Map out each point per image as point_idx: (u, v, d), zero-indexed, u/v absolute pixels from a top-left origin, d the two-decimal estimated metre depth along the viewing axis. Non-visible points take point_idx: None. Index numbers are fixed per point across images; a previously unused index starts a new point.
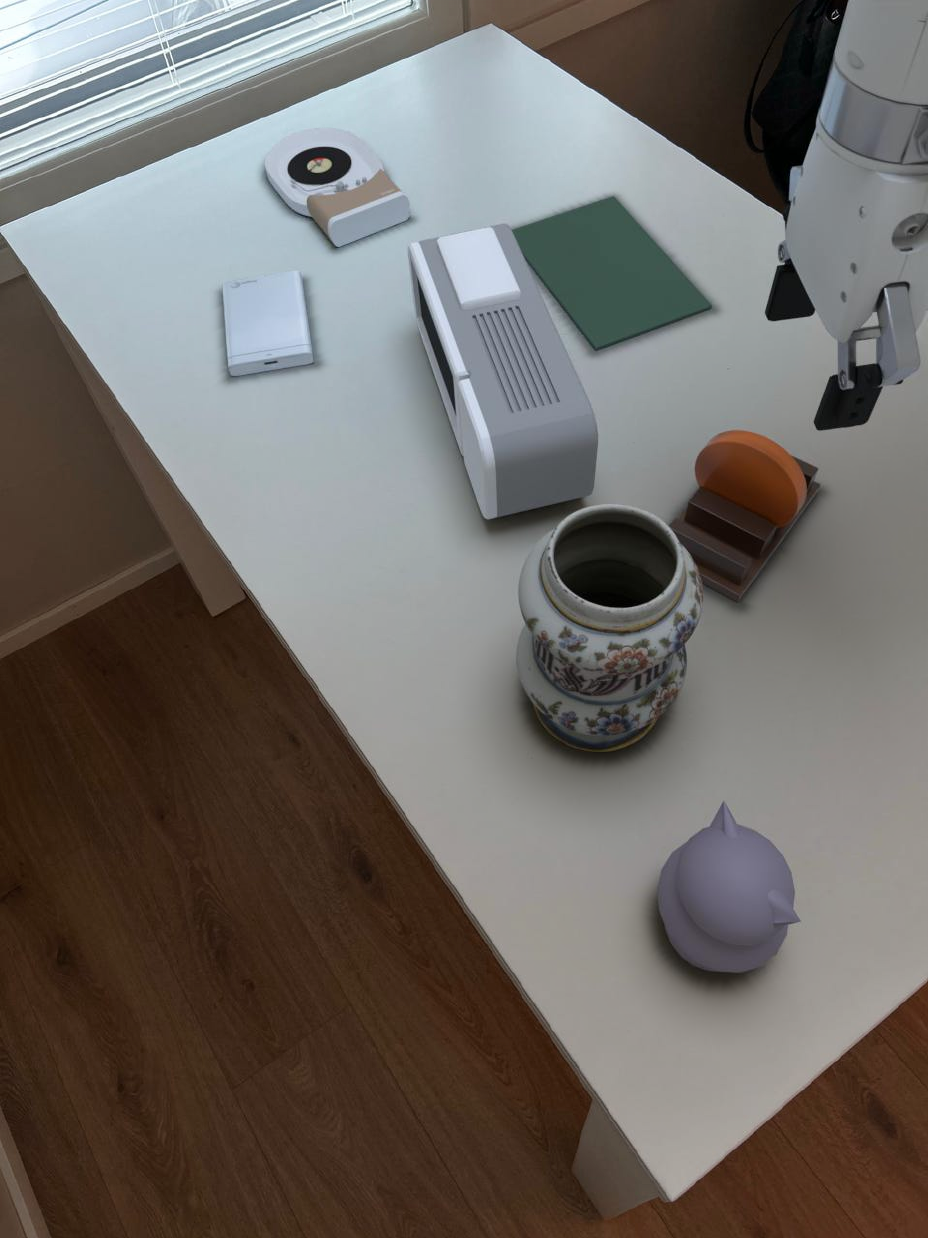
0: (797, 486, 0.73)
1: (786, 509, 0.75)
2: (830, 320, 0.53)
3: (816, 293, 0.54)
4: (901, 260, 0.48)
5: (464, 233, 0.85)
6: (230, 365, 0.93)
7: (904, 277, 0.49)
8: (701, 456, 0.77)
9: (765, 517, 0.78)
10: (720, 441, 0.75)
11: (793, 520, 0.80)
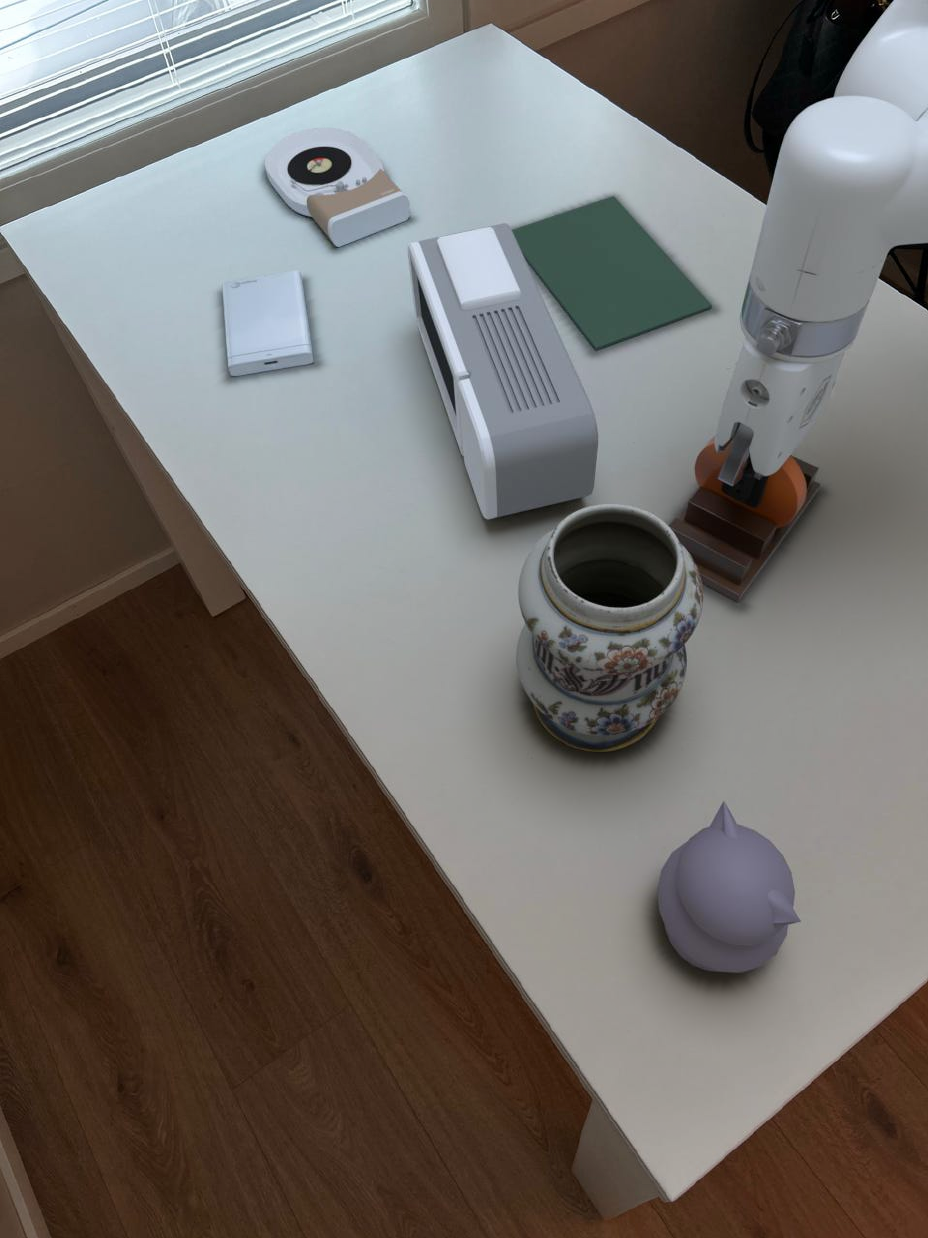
0: (797, 486, 0.73)
1: (786, 509, 0.75)
2: None
3: None
4: (746, 409, 0.65)
5: (464, 233, 0.85)
6: (230, 365, 0.93)
7: (749, 423, 0.65)
8: (701, 456, 0.77)
9: (765, 517, 0.78)
10: None
11: (793, 520, 0.80)
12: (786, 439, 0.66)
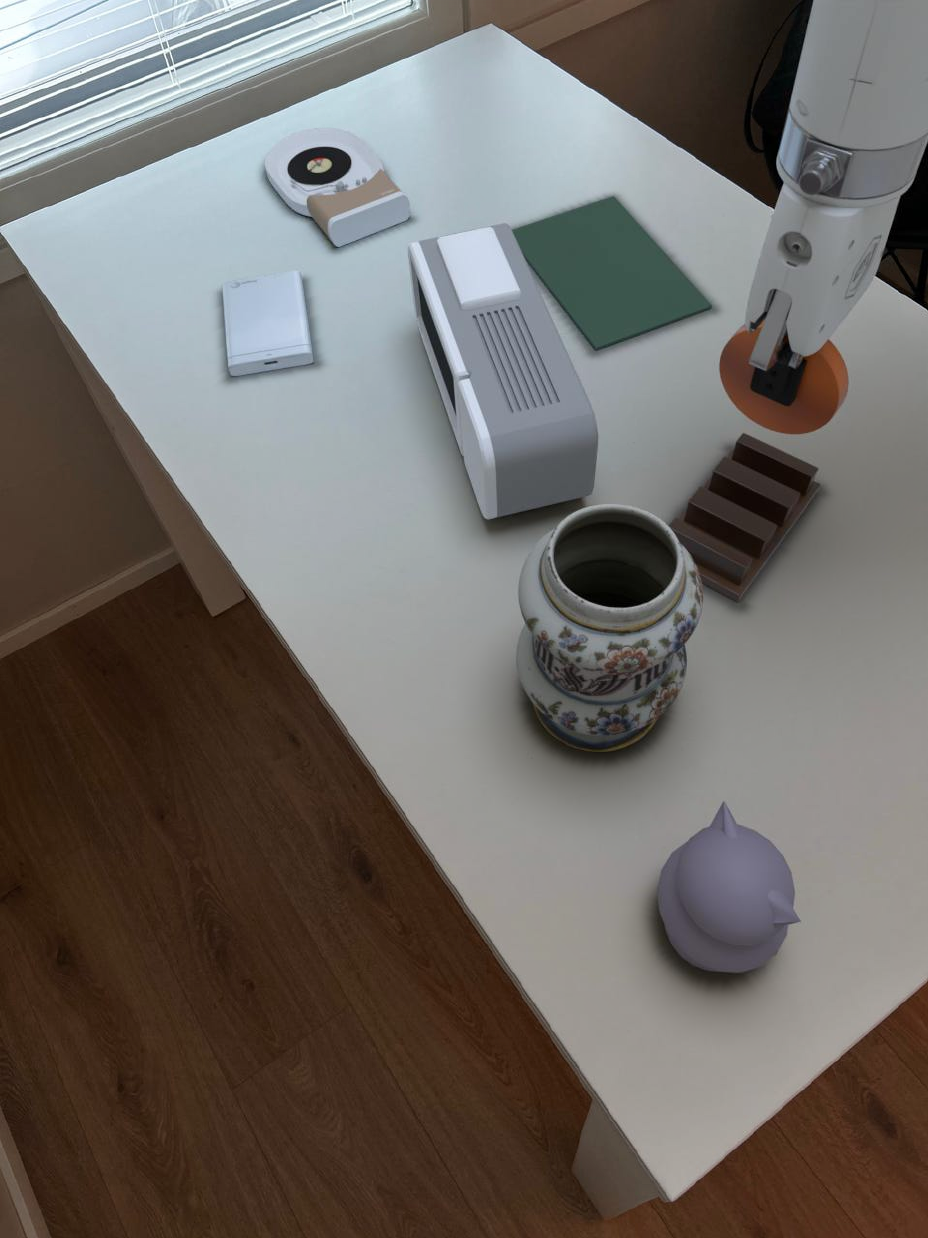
0: (838, 376, 0.64)
1: (825, 406, 0.66)
2: None
3: None
4: (784, 271, 0.56)
5: (464, 233, 0.85)
6: (230, 365, 0.93)
7: (786, 289, 0.56)
8: (727, 349, 0.68)
9: (800, 418, 0.69)
10: None
11: (793, 520, 0.80)
12: (830, 308, 0.57)
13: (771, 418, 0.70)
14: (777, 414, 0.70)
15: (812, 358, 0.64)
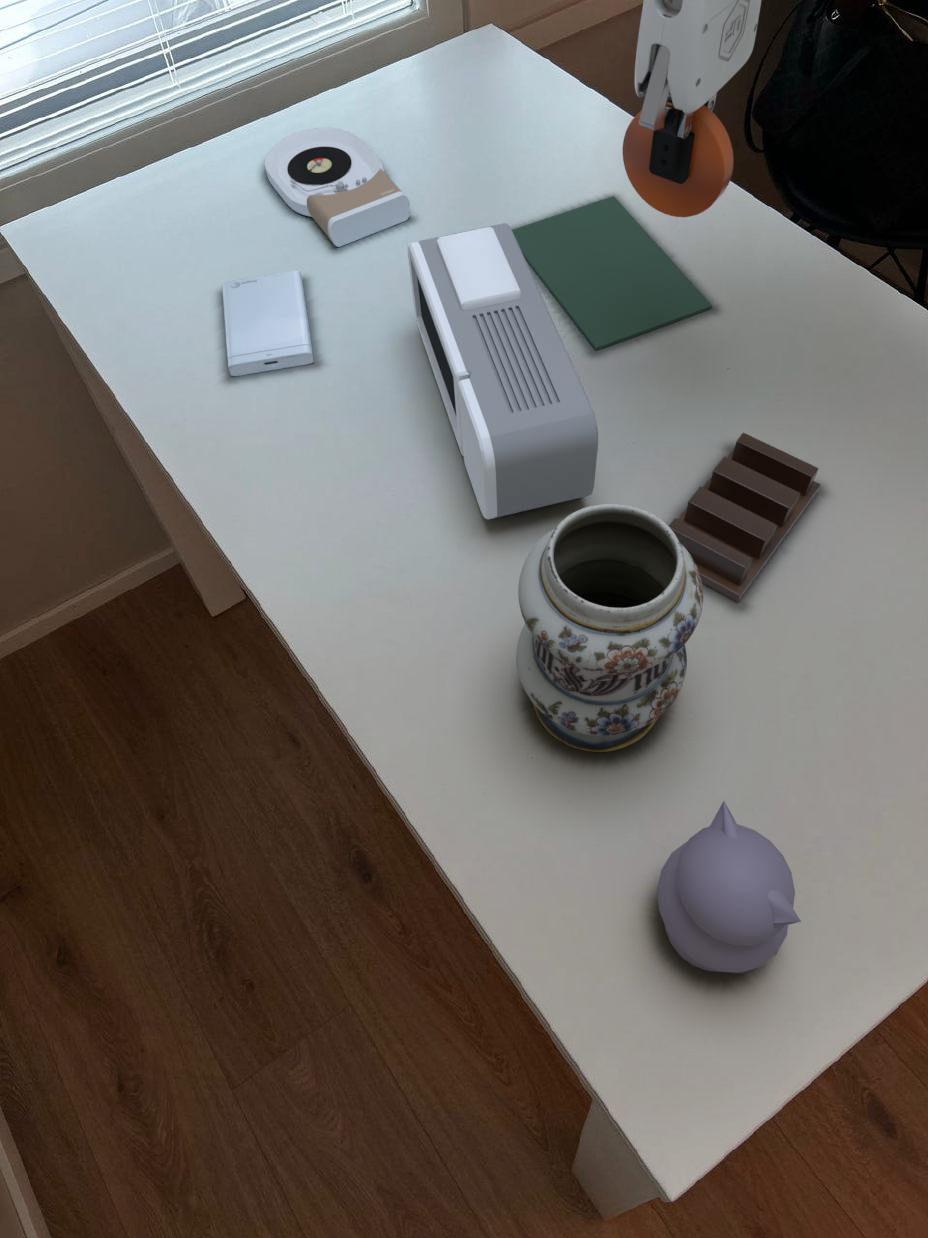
0: (723, 147, 0.72)
1: (714, 179, 0.74)
2: None
3: None
4: (661, 23, 0.63)
5: (464, 233, 0.85)
6: (230, 365, 0.93)
7: (665, 42, 0.64)
8: (628, 134, 0.76)
9: (694, 198, 0.76)
10: None
11: (793, 520, 0.80)
12: (703, 61, 0.65)
13: (670, 202, 0.78)
14: (675, 197, 0.77)
15: (699, 130, 0.72)
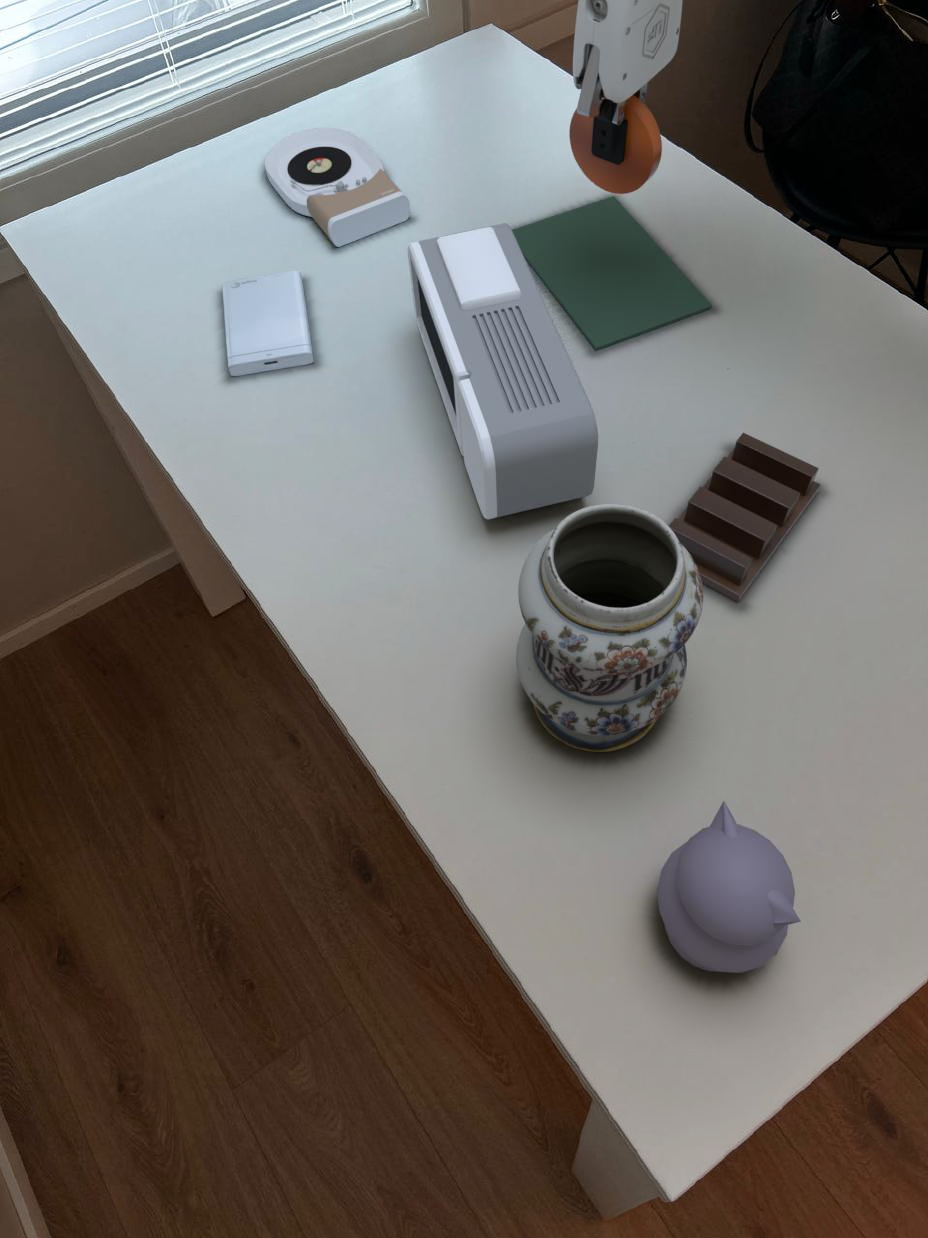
0: (651, 132, 0.84)
1: (645, 160, 0.86)
2: None
3: None
4: (591, 26, 0.76)
5: (464, 233, 0.85)
6: (230, 365, 0.93)
7: (595, 42, 0.76)
8: (573, 121, 0.88)
9: (629, 177, 0.88)
10: None
11: (793, 520, 0.80)
12: (628, 58, 0.77)
13: (610, 181, 0.90)
14: (614, 176, 0.90)
15: (631, 118, 0.84)
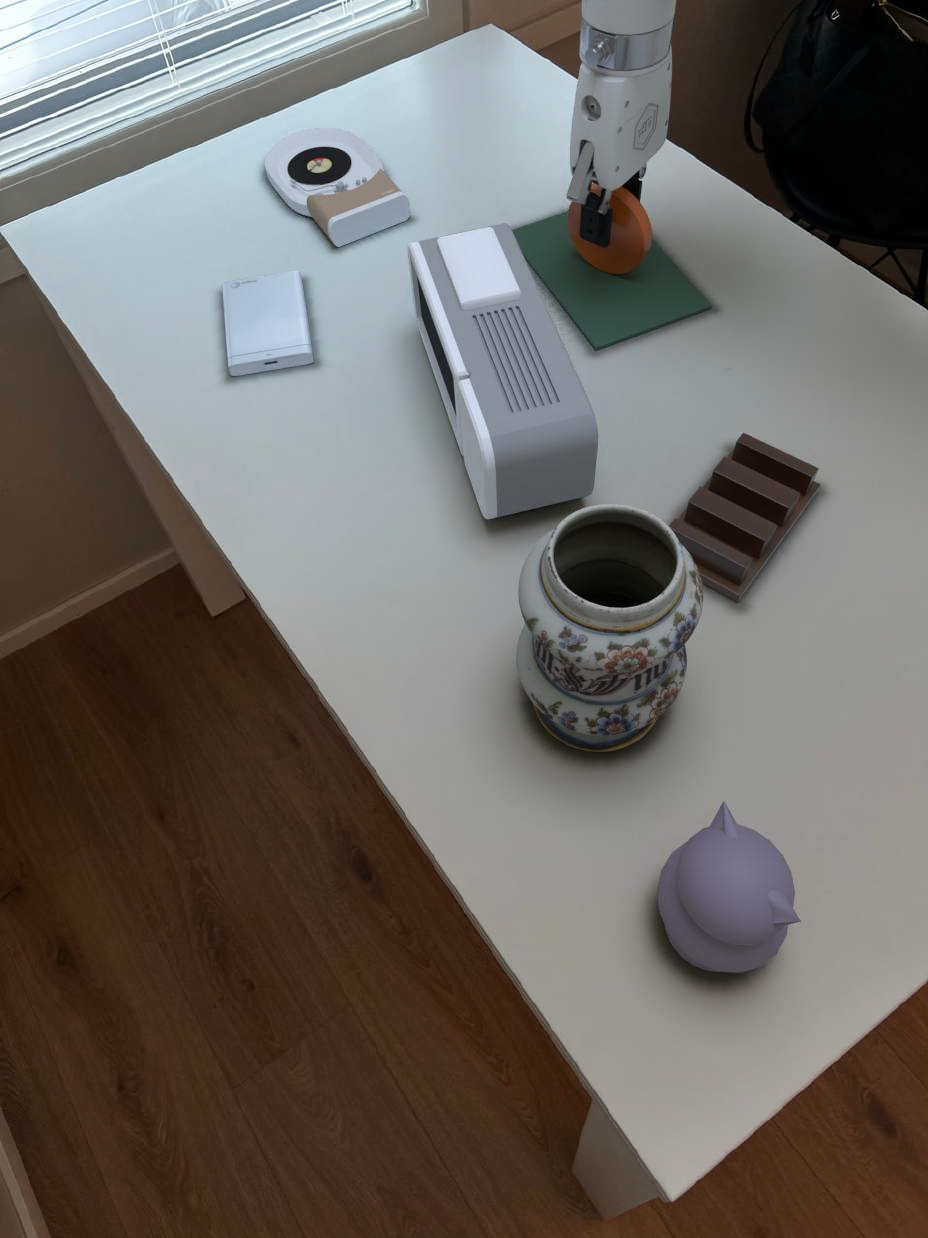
0: (642, 223, 0.92)
1: (637, 247, 0.94)
2: None
3: None
4: (586, 125, 0.82)
5: (464, 233, 0.85)
6: (230, 365, 0.93)
7: (590, 138, 0.83)
8: (570, 209, 0.96)
9: (623, 260, 0.96)
10: None
11: (793, 520, 0.80)
12: (620, 153, 0.84)
13: (605, 262, 0.98)
14: (608, 258, 0.97)
15: (623, 210, 0.92)
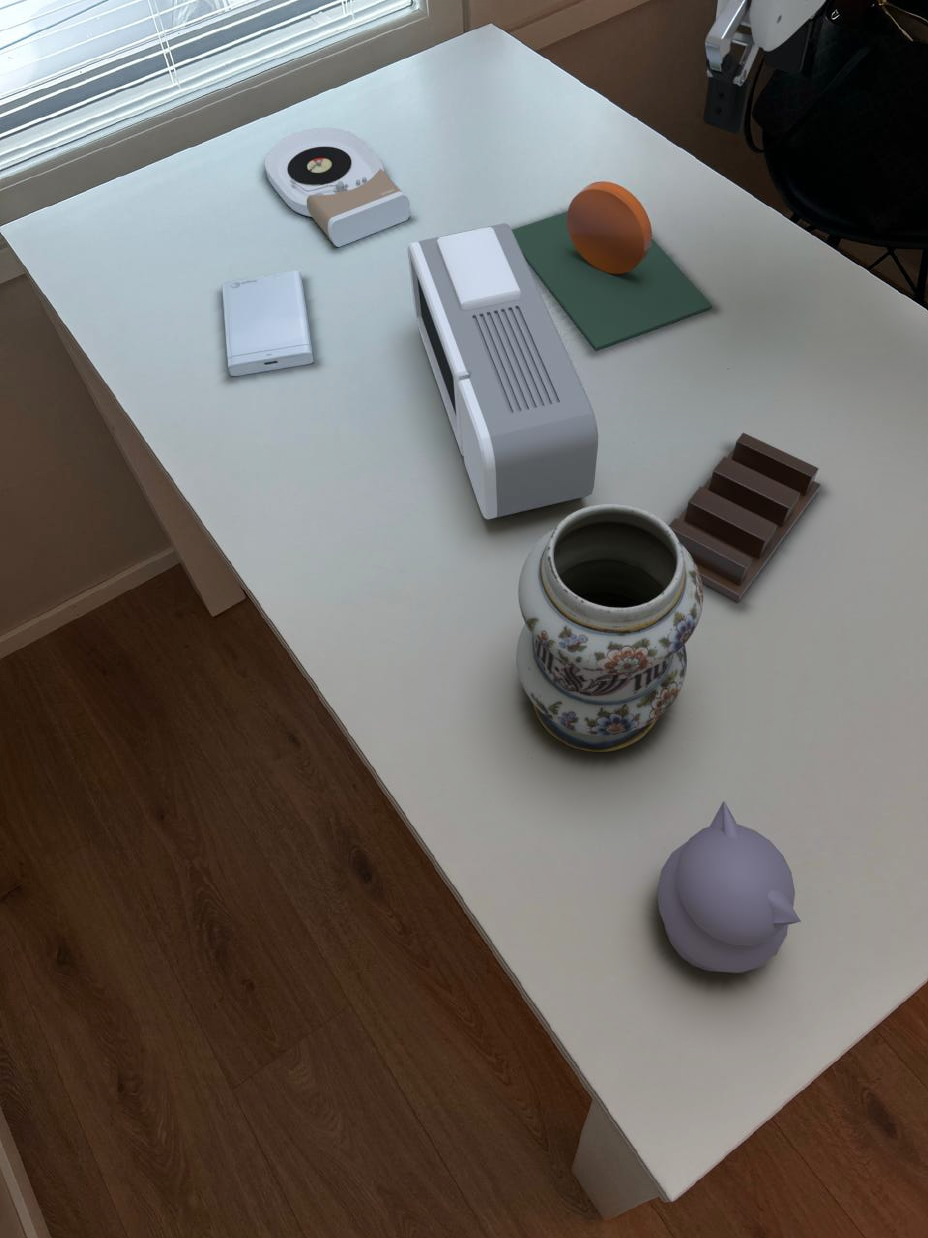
0: (642, 222, 0.92)
1: (636, 247, 0.94)
2: None
3: None
4: None
5: (464, 233, 0.85)
6: (230, 365, 0.93)
7: None
8: (570, 209, 0.96)
9: (623, 260, 0.96)
10: (582, 191, 0.93)
11: (793, 520, 0.80)
12: None
13: (605, 262, 0.98)
14: (608, 258, 0.97)
15: (623, 209, 0.92)
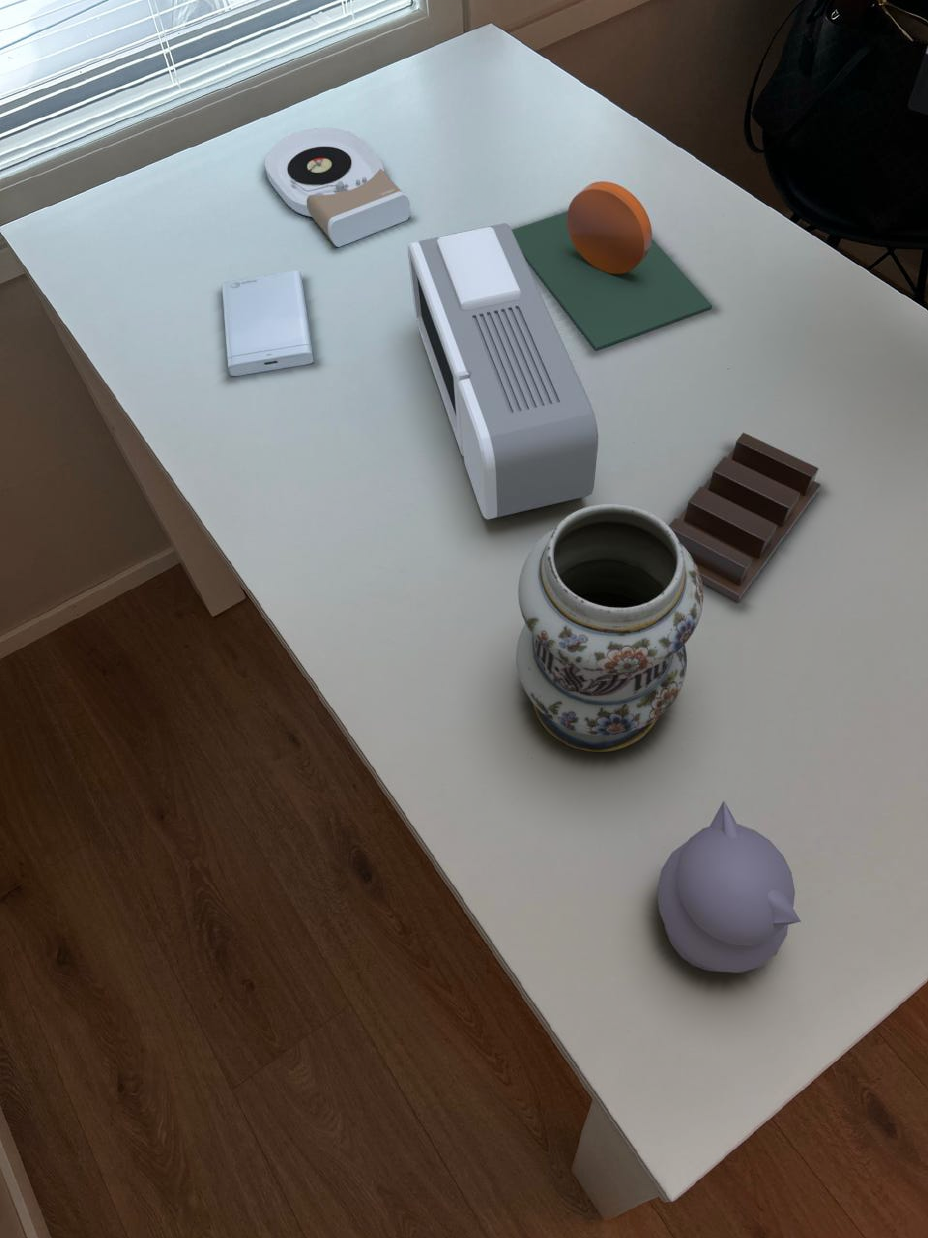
0: (642, 223, 0.92)
1: (636, 247, 0.94)
2: None
3: None
4: None
5: (464, 233, 0.85)
6: (230, 365, 0.93)
7: None
8: (570, 209, 0.96)
9: (623, 260, 0.96)
10: (582, 191, 0.93)
11: (793, 520, 0.80)
12: None
13: (605, 262, 0.98)
14: (608, 258, 0.97)
15: (623, 209, 0.92)
